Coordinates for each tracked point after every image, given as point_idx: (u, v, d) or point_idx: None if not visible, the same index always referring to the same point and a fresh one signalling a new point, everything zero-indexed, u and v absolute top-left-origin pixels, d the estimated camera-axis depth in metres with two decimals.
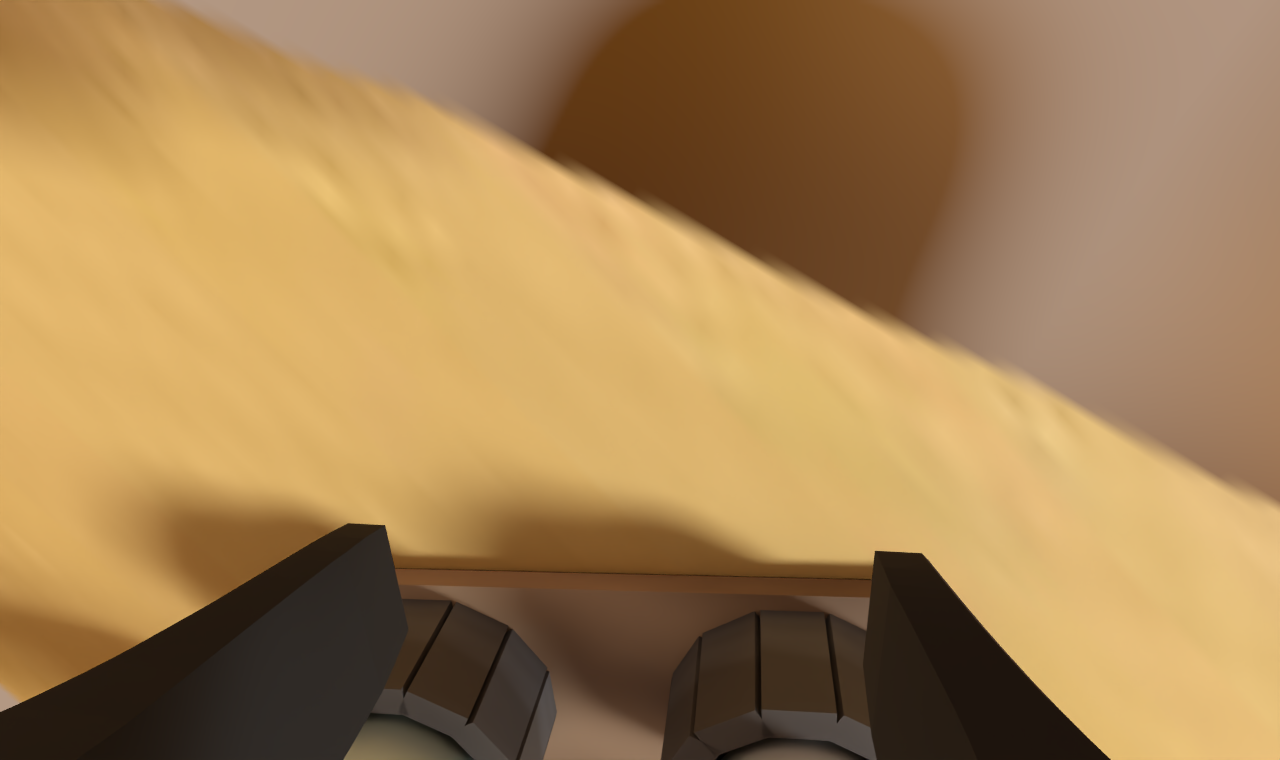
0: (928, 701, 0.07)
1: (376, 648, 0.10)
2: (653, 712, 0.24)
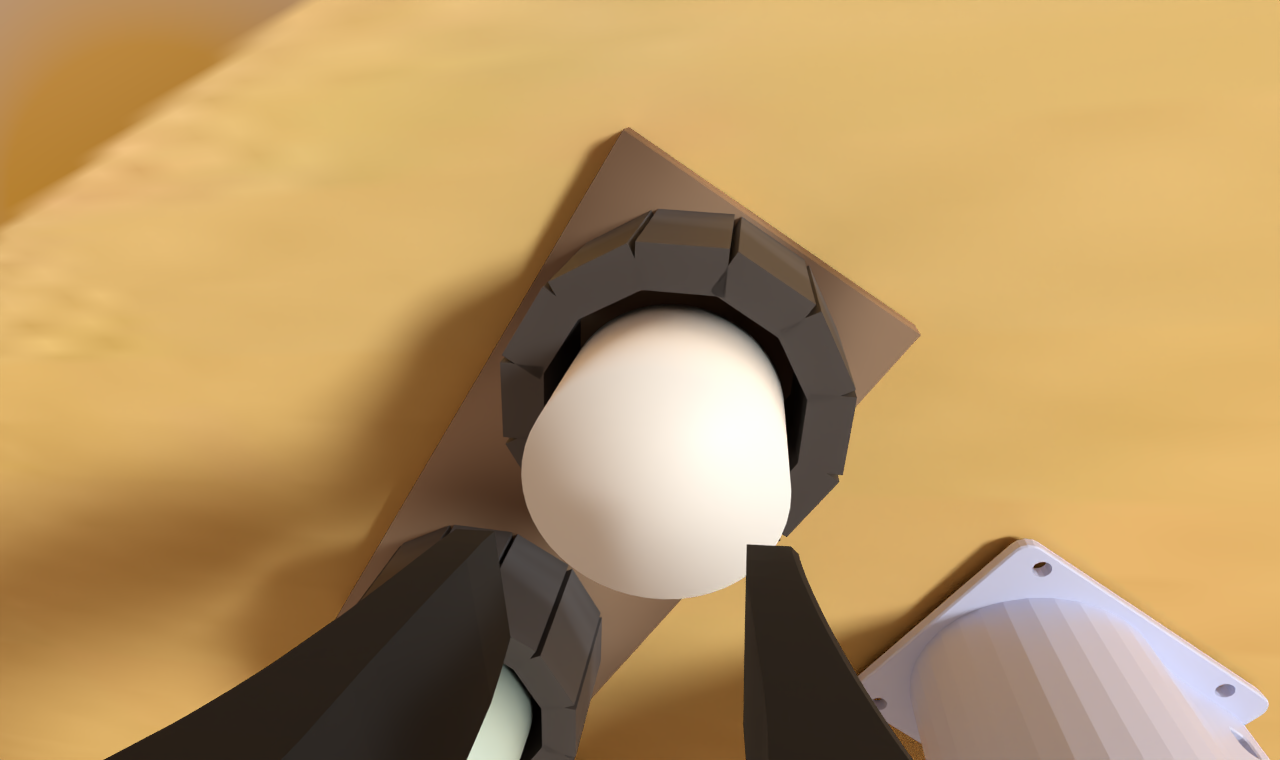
0: (758, 687, 0.07)
1: (487, 657, 0.10)
2: None
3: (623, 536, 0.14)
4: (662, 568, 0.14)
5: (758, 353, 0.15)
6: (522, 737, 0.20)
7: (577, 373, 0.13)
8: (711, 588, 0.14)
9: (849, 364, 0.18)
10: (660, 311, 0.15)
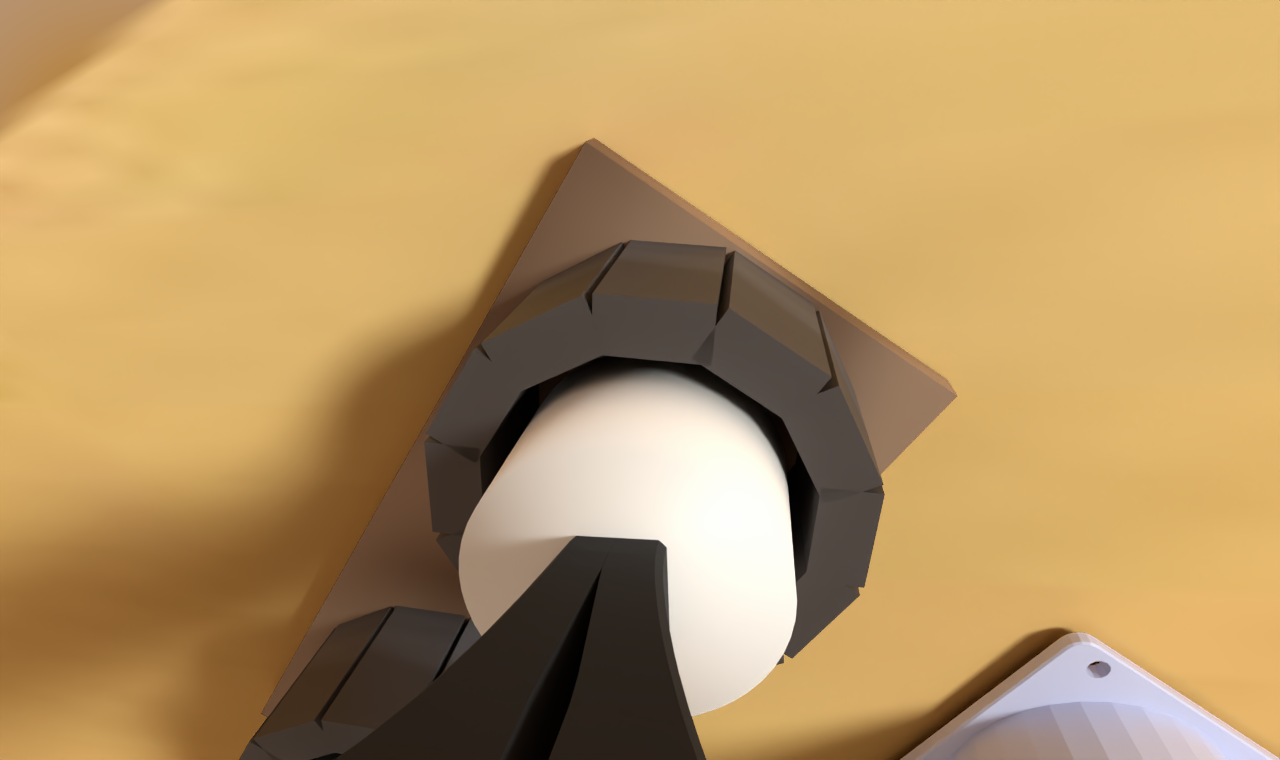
0: None
1: None
2: None
3: None
4: None
5: (755, 413, 0.12)
6: None
7: (527, 448, 0.10)
8: (698, 709, 0.11)
9: (868, 429, 0.15)
10: (636, 361, 0.12)
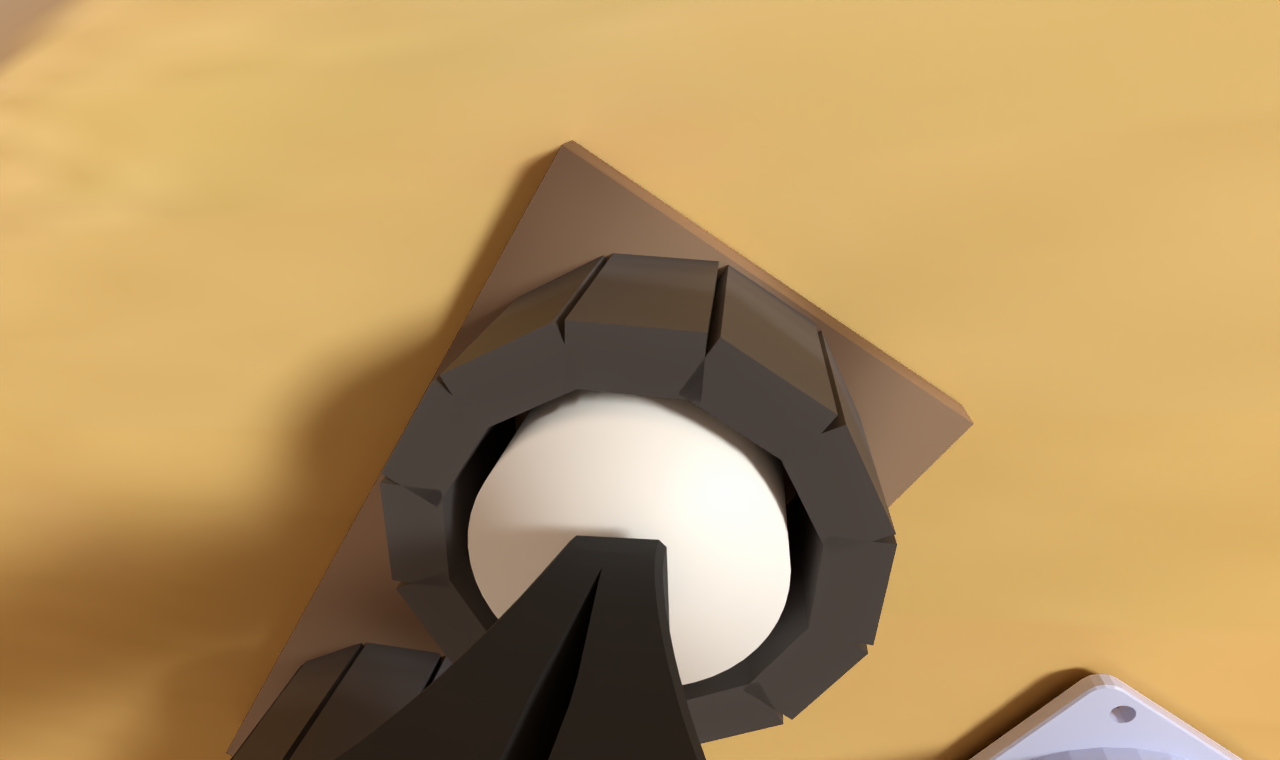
0: None
1: None
2: None
3: None
4: None
5: None
6: None
7: (533, 426, 0.11)
8: (696, 676, 0.12)
9: (875, 459, 0.14)
10: None
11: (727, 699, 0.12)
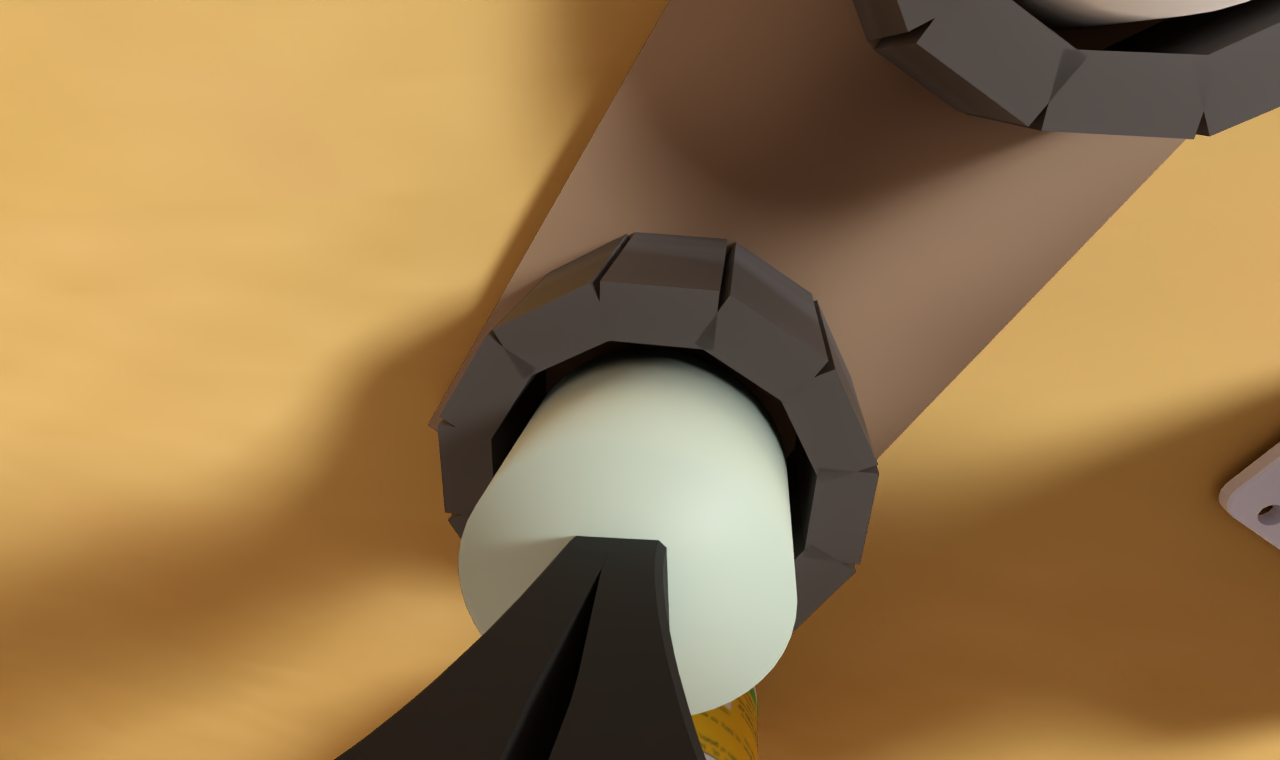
0: None
1: None
2: (917, 139, 0.13)
3: None
4: None
5: None
6: None
7: None
8: None
9: None
10: None
11: None
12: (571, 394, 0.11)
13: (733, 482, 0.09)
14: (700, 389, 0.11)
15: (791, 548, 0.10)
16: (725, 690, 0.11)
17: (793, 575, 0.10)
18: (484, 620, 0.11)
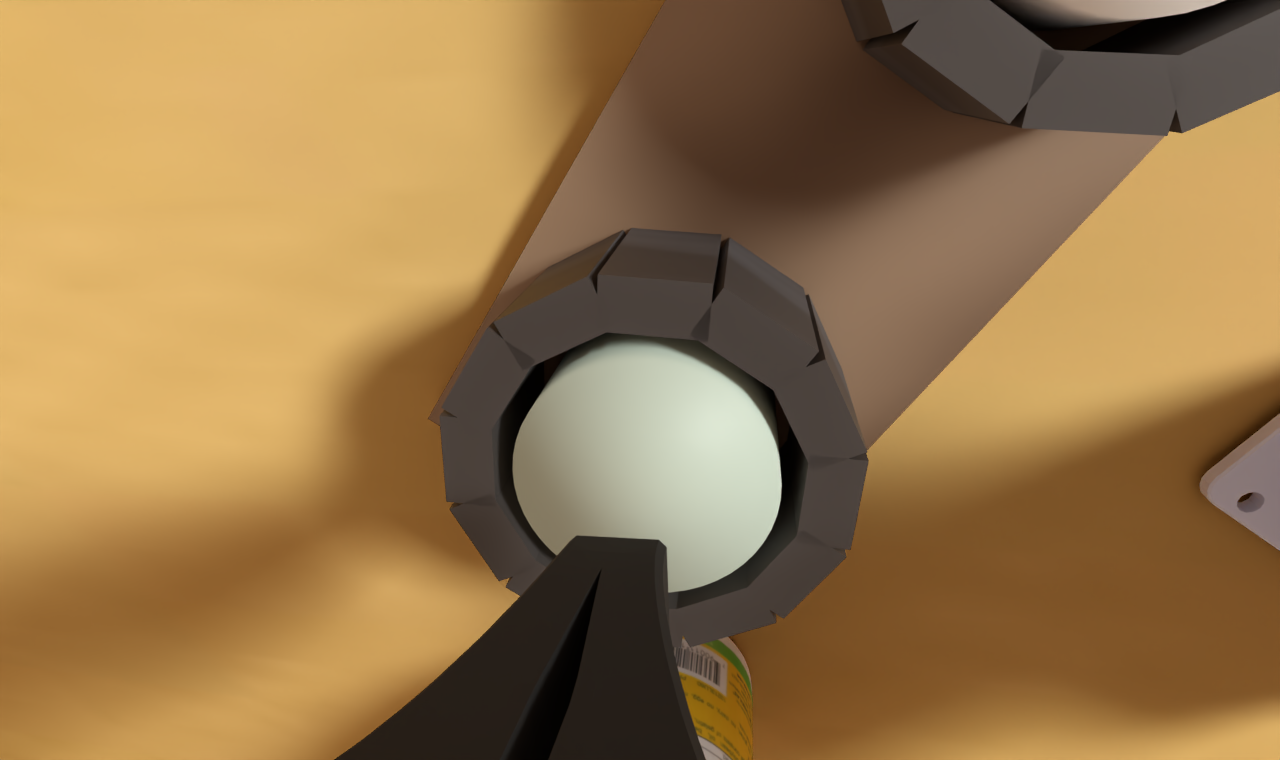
0: None
1: None
2: (905, 137, 0.14)
3: None
4: None
5: None
6: None
7: None
8: None
9: None
10: None
11: (1276, 27, 0.09)
12: None
13: (731, 388, 0.12)
14: None
15: (777, 446, 0.13)
16: (725, 565, 0.14)
17: (778, 464, 0.13)
18: (531, 510, 0.14)
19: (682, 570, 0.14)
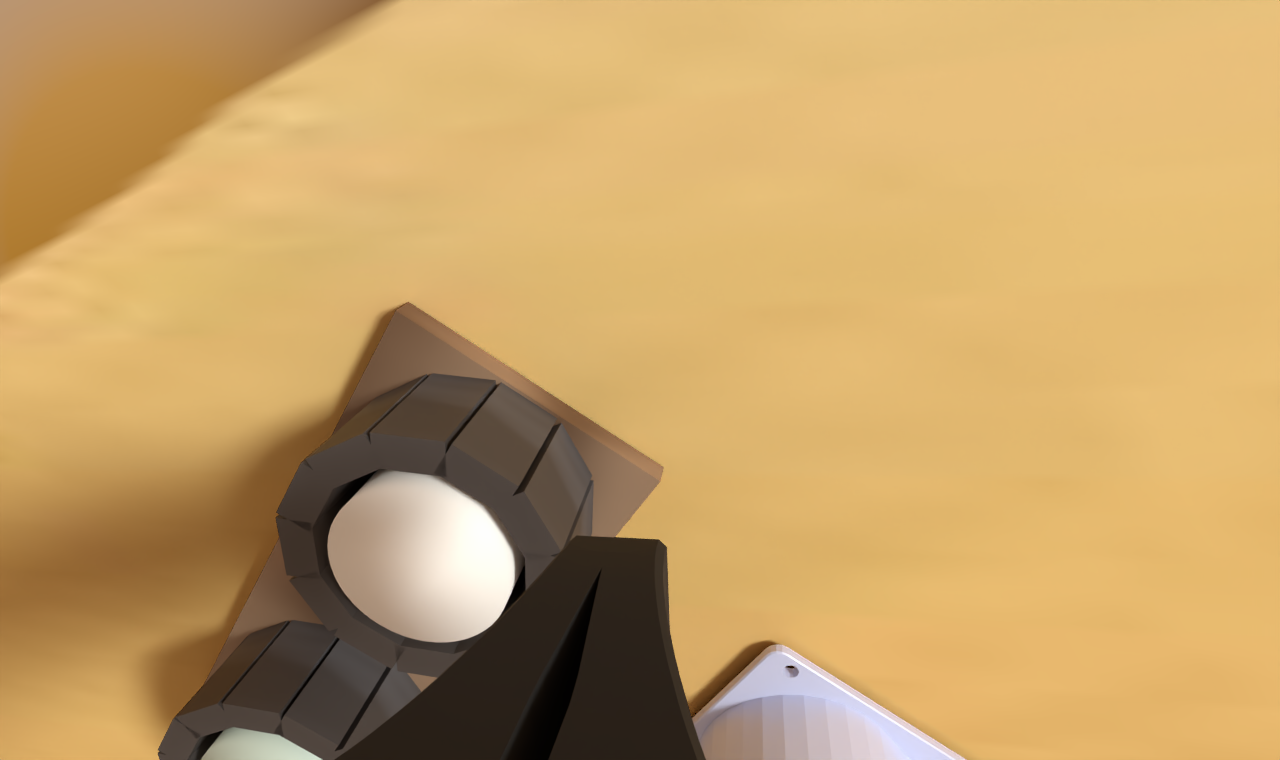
0: None
1: None
2: None
3: (403, 598, 0.19)
4: (432, 621, 0.19)
5: None
6: None
7: (365, 486, 0.19)
8: (467, 635, 0.19)
9: (605, 502, 0.21)
10: None
11: None
12: None
13: (301, 756, 0.23)
14: None
15: None
16: None
17: None
18: None
19: None
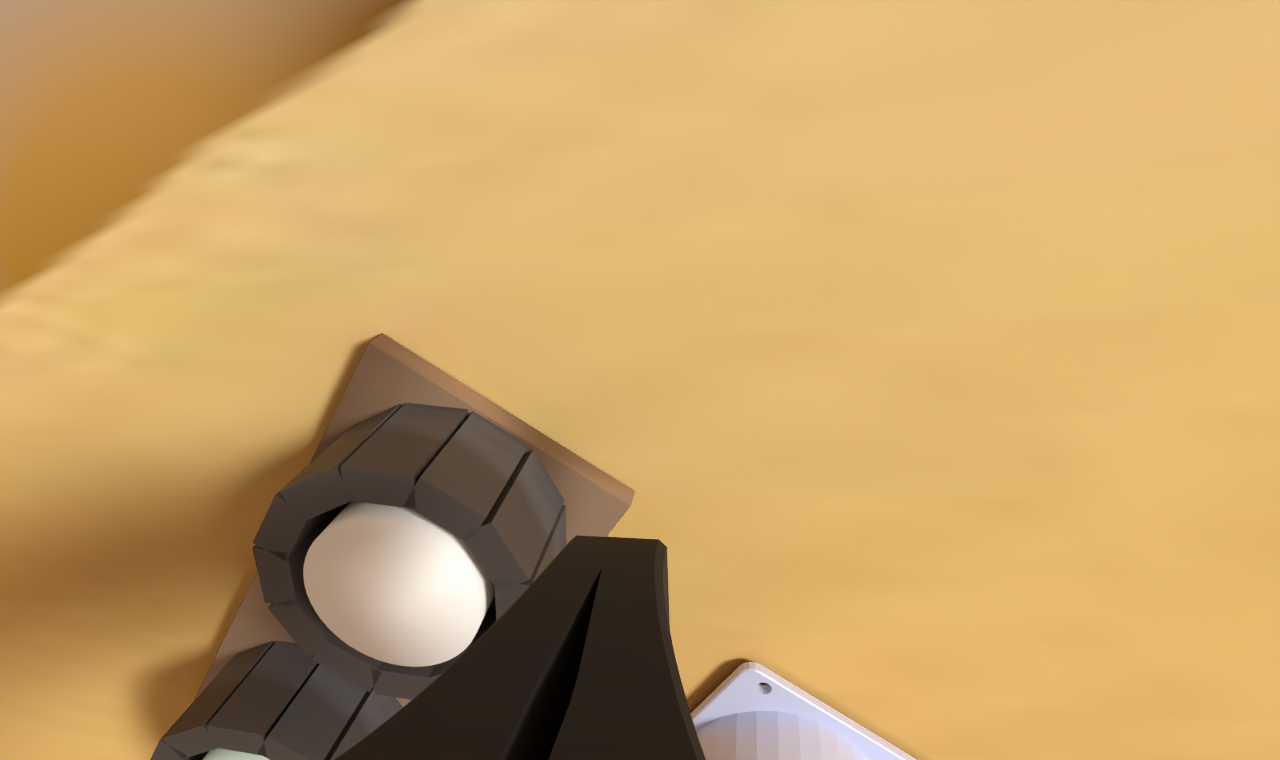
0: None
1: None
2: None
3: (377, 624, 0.20)
4: (406, 646, 0.20)
5: None
6: None
7: (339, 516, 0.19)
8: (441, 660, 0.20)
9: (578, 525, 0.22)
10: None
11: None
12: None
13: None
14: None
15: None
16: None
17: None
18: None
19: None
